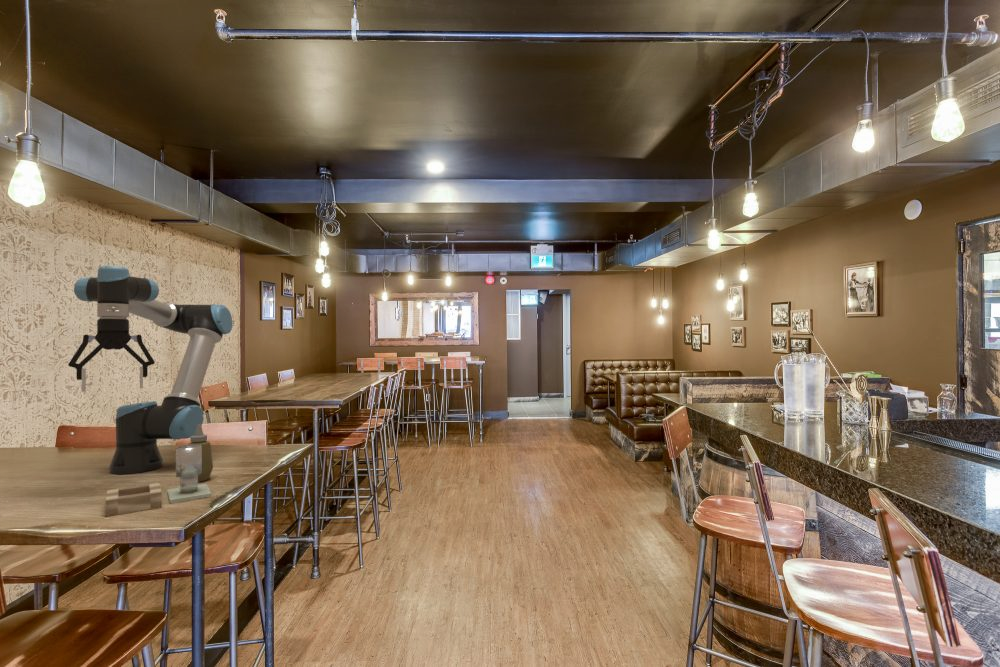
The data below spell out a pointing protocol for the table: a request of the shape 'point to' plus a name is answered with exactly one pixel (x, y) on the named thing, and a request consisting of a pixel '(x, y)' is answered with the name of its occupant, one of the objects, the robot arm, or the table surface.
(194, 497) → the mat
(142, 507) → the bore block
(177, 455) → the metal cylinder
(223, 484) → the table surface
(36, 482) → the table surface
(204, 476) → the squeeze bottle
